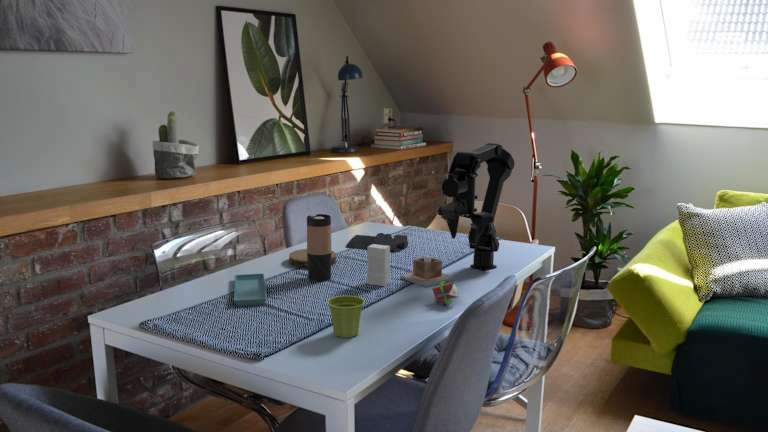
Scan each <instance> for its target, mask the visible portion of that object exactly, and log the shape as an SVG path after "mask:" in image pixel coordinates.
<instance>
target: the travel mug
mask: <svg viewBox="0 0 768 432" xmlns="http://www.w3.org/2000/svg"><path fill="white" fill-rule="evenodd" d="M306 249H307V261H308V268H307V274H308V275H307V277H308V280H310V281H312V282H316V283H317V282H327V281H329V280H331V278H332V265H331V252H332V251H333V250H332V218H331V216H330V214H323V213H317V214H316V215H310V214H309V215H307V216H306Z"/></svg>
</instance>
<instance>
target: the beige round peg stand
mask: <svg viewBox="0 0 768 432" xmlns="http://www.w3.org/2000/svg"><path fill="white" fill-rule="evenodd" d="M423 257H424V262H426V263H429V262H431V257H432V256H431V255H430V256H429V255H425V256H423ZM401 278H402V280H404V279H405V280H404V281H407V282H409V283H413V284H416V285H418V286H421V287H422V286H423V287H424V288H429V287H434V286H438V285H440V284H439V283H440V282H442V280H443V279H444V282H445V283H449V282H451V281H455V276H452V275H449V274H446V273H444V272H442V276H439V277H435V278H432V279H428V280H426V279H423V278H420V277H417V276H414V275H413V271H412V272H407V273H405V274H401V275H400V279H401ZM437 284H438V285H437Z"/></svg>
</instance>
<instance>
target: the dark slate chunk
mask: <svg viewBox="0 0 768 432" xmlns="http://www.w3.org/2000/svg"><path fill="white" fill-rule="evenodd" d="M392 237H393V238H392ZM372 244H377V245H386V246H390V253H393V254H394V253H395V254H396V253H401V252H402V251H403V250H405V249H406V248H408V247H409V246H408V245H409V241H408V235H406V234H405V235H403V234H395V235H394V236H392V234H391V233H383V232H379V233H377V234H376V235H375V236H374V235H365V234H363V235H362V234H356V235H354V236H352V238H351V239H350V240H349V241H348V243H347V244H346V247H345V248H347V249H351V250H352V249H353V250H363V251H367V247H368V246H370V245H372Z"/></svg>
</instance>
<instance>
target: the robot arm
mask: <svg viewBox="0 0 768 432" xmlns="http://www.w3.org/2000/svg"><path fill="white" fill-rule="evenodd" d="M482 163H486V166H487V168H486V170H487V173H488V176H489V179H488V183H487V188H486V191H485V195H484V199H483V203H482V206H481V210H480V212H478V208H476V207H475V202H476V201H475V200H477V199H478V195H476V177H477V178H478V176H479V174H478V173H477V171H478V170H479V169H480V168H481V164H482ZM514 168H515V160H514V157H513V155H512V154H511V153H510V152H508V151H507V150H506V149H504V147H503V146H502V144H500V143H491V142H488V143H485V144H484V145H483V146H480V147H478V148H476V149H473V150H471V151H468V150H467V151H466V150H464V151H463V150H462V151H457V152H456V153H455V155H454V156H453V159H452V161H451V165H450V167H449V170H448V171H447V173H448V174H447V178H446V179H444V181H443V182H442V184H441V191H442V193H443V194H444V196H446V197H448V198H452V200H451V201H450V202H448V203H447V204H445V205H441V206H439V208H438V211H437V215H438V216H440V218H441V219H443V220H444V221H445V222H446V224H447V227H448V230H449V232H450V237H451V239H456V237H457V233H458V227H459V221H460V218H461V217H462V218H466V219H470V221H471V223H470V229H469V231H468V232H469V233H468V234H467V236H468V237H467V238H468V244H469V249H471V250H474V251H473V261H472V262H473V263H472V264H470V267H471V268H474V269H478V270H480V271H487V270H491V269H494V268H498V267H497V265H496V264H494V260H495V259H494V255H495V254H494V253H495V252H499V248H500V241H499V240H498V238H497V236H496V235H497V234H496V233H497V229H496V227H495V224H494V222H495V218H496V214H497V209H498V206H499V201H500V198H501V195H502V190H503V187H504V183H505V182H506V181H507V180H508V179H509V178H510V177H511V174H512V172H513V169H514Z"/></svg>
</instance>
